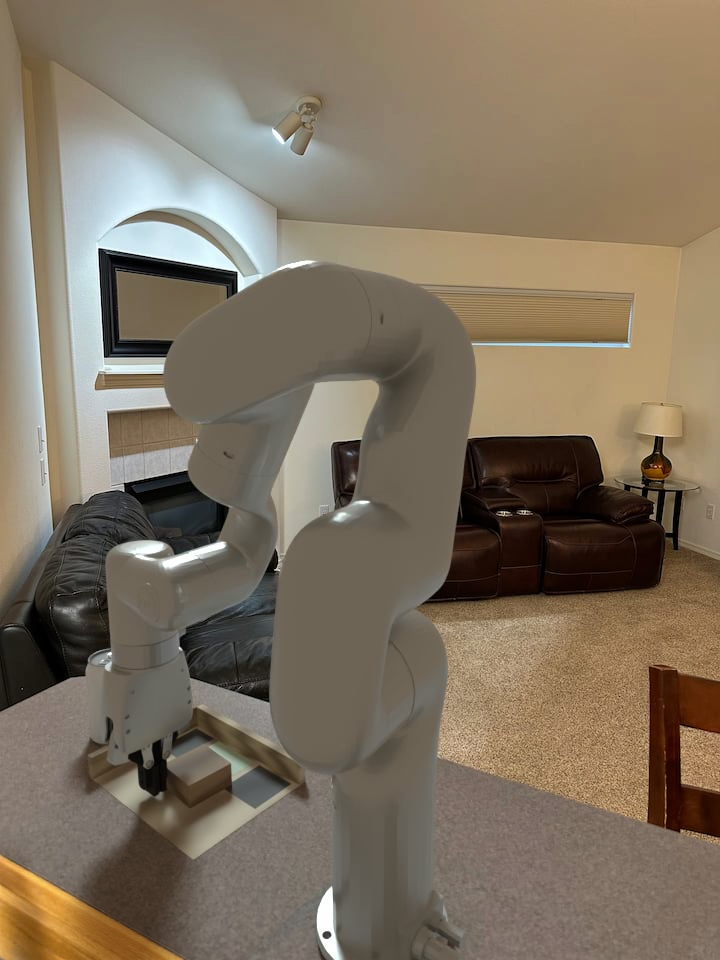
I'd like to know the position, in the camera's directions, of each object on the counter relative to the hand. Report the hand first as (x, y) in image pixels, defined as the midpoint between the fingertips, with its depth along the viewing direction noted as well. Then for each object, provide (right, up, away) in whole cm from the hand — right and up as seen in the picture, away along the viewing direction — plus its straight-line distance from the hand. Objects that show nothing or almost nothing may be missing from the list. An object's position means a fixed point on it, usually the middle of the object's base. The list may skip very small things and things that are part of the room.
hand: (153, 788), depth 78 cm
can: (-11, 0, +15) cm, 19 cm away
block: (+5, -1, +2) cm, 5 cm away
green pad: (+6, -1, +7) cm, 10 cm away
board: (+4, -2, +4) cm, 6 cm away
